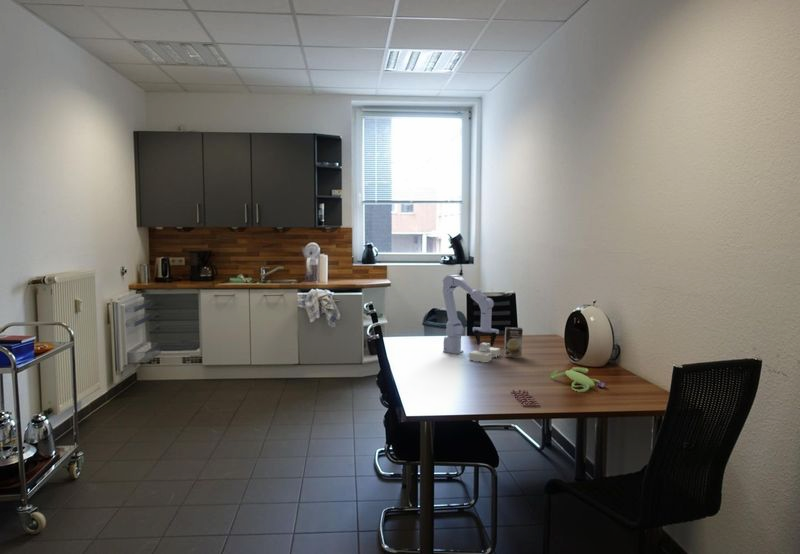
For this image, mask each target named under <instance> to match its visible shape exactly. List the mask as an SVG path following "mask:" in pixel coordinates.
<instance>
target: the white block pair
mask: <svg viewBox="0 0 800 554" xmlns="http://www.w3.org/2000/svg"><path fill="white" fill-rule="evenodd" d="M499 355H500V356H501V348H500V347H494V346H490V353H488V352H480V347H478V350H473V351H471V352H469V361H471V360H473V361H472V362H478V361H481V362H480V363H485V362H488V361H489V362H491V361H492V358H494V357H496V358H498V357H500V356H499ZM497 356H498V357H497ZM490 360H491V361H490ZM489 362H488V363H489Z"/></svg>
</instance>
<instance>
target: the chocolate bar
mask: <svg viewBox="0 0 800 554" xmlns="http://www.w3.org/2000/svg"><path fill="white" fill-rule="evenodd" d="M510 394H511V395H512V394H514V396H515V397H514V396H513V397H514V398H515V399H516V398H517V399H516V401H517V400H519V402H520V403H521V404H522V405H523V406H540V407H541V403H539V401H537V399H535V398H534V397H533V395H532V394H530V392H529V391H528V390H525V389H523V390H521V389H518V390H515V389H512V390H510ZM519 402H518V403H519ZM520 403H519V404H520ZM521 404H520V405H521ZM522 405H521V406H522Z"/></svg>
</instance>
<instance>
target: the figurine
mask: <svg viewBox="0 0 800 554" xmlns="http://www.w3.org/2000/svg"><path fill="white" fill-rule="evenodd" d="M580 372H581V373H580ZM584 373H585V374H586V373H589V369H588V368H586V367H578V366H577V367H575V366H574V367H572V368H570V370H568V369H567V370H565V371H564V372H560V373H559V370H557V369H556V370H554V371H553V372H552V373H551V375H550V376H549V379H550V380H551V379H553V380H554V379H556V378H558V377H561V376H565V375H566V376H567V377H568V378H569V379H571V380H572V381H573V382H572V383H571V390H572V391H573V390H574V391H573V392H576V391H577V392H576V393H584V392H587V391H588V390H589V389H590V388H591V387H594V386H596V384H595V383H598V384H597V386H598V387H600V388H602V389H603V388H604V387H605V385H606V382H603V381H601V379H600V380H598V379H596V378H590V377H589V376H587V375H585V374H584ZM576 384H580V385H576ZM578 387H582V388H581V389H576V388H578Z"/></svg>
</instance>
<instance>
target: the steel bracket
mask: <svg viewBox="0 0 800 554" xmlns="http://www.w3.org/2000/svg"><path fill="white" fill-rule="evenodd" d="M490 347H491V342H484V341H483V342H482V343H481V342H480V344H479V348H480V352H488V353H490Z"/></svg>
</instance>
